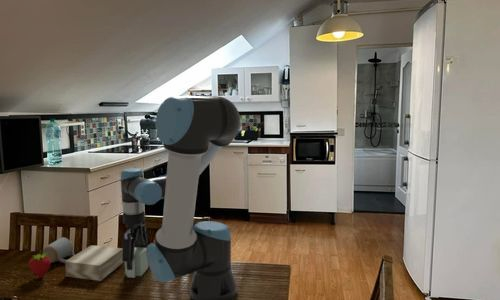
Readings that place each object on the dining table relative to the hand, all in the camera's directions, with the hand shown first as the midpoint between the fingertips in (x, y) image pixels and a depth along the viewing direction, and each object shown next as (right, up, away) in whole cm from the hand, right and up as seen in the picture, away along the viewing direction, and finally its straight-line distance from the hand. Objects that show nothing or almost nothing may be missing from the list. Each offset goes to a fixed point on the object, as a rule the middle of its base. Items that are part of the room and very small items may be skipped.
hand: (136, 270), depth 125 cm
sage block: (0, 0, 0) cm, 0 cm away
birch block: (-16, 0, +2) cm, 16 cm away
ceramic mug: (-33, +1, +10) cm, 34 cm away
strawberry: (-33, -1, -4) cm, 33 cm away
